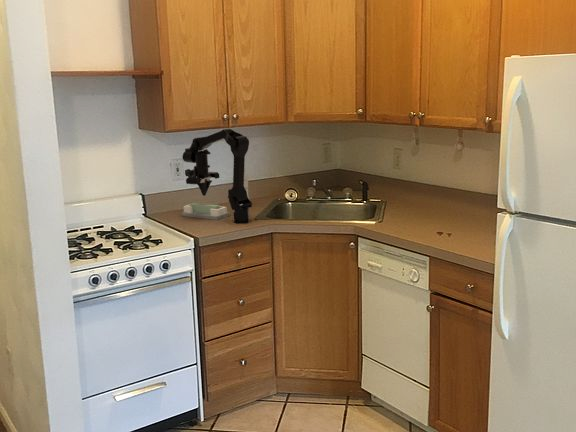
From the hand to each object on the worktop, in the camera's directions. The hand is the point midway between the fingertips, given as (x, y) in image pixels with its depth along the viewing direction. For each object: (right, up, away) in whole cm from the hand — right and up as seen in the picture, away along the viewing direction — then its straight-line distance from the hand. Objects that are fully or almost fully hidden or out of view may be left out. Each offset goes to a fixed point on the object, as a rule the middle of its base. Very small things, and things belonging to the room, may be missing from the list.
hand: (204, 195), depth 318 cm
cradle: (0, -10, +2) cm, 10 cm away
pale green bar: (0, -8, +2) cm, 8 cm away
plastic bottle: (+18, -5, +19) cm, 27 cm away
